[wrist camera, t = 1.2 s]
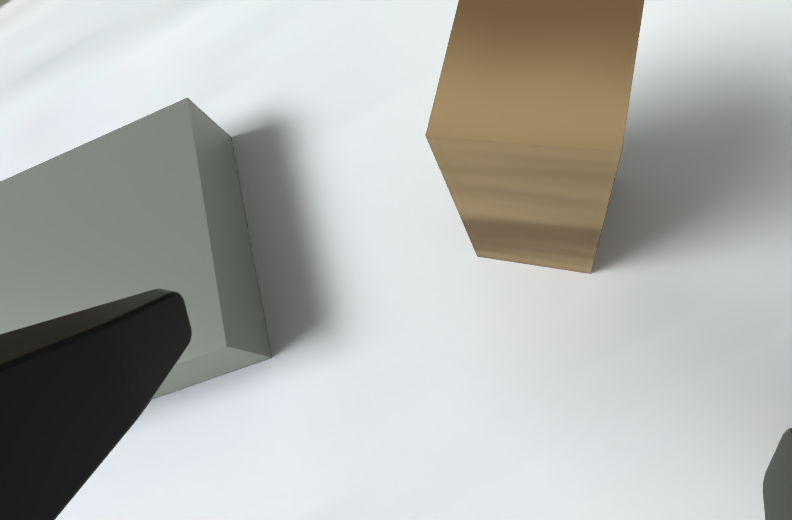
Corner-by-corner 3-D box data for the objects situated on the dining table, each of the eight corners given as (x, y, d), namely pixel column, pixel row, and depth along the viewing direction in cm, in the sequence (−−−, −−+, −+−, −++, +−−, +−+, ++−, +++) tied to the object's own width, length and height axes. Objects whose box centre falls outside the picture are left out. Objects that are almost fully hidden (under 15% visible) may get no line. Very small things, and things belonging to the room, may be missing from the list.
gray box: (276, 358, 24) (226, 346, 20) (55, 435, 26) (-26, 436, 22) (234, 140, 28) (187, 97, 24) (48, 220, 30) (-22, 191, 26)
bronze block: (590, 273, 21) (621, 151, 12) (477, 256, 22) (425, 135, 13) (606, 169, 22) (646, -19, 13) (497, 159, 23) (462, -16, 14)
